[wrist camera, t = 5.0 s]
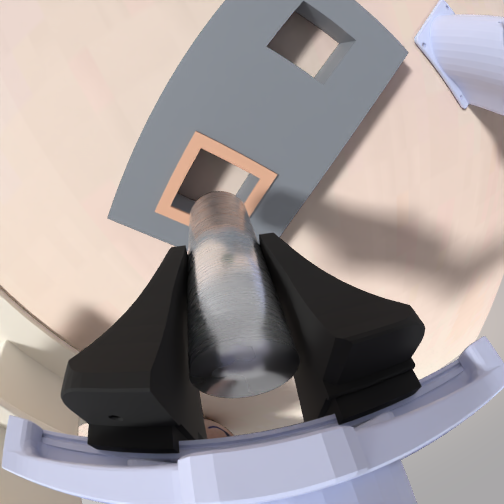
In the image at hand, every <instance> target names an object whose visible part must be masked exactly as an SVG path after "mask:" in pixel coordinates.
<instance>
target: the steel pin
mask: <svg viewBox="0 0 504 504" xmlns="http://www.w3.org/2000/svg"><path fill="white" fill-rule="evenodd" d="M187 328H188V365H189V379H190V382H191V383H192V385H193V386H194V387H195V388H197V389H198V390H200V391H201V392H203V393H206V394H208V395H212V396H216V397H223V398H243V397H250V396H255V395H259V394H262V393H265V392H268V391H271V390H273V389H275V388H277V387H279V386H281V385H282V384H284V383H285V382H287V381H288V380H289V379H290V378H292V376H293V375H294V374H295V373H296V371H297V370H298V368H299V364H300V359H299V355H298V352H297V349H296V347H295V344H294V341H293V338H292V335H291V332H290V329H289V327H288V324H287V321H286V318H285V315H284V313H283V310H282V307H281V304H280V301H279V298H278V296H277V293H276V290H275V287H274V285H273V282H272V279H271V276H270V273H269V271H268V268H267V265H266V262H265V259H264V257H263V254H262V251H261V248H260V246H259V243H258V240H257V237H256V235H255V232H254V229H253V226H252V224H251V221H250V218H249V215H248V213H247V210H246V207H245V205H244V204H243V202H242V201H241V200H240V199H239V198H238V197H237V196H235V195H234V194H231V193H228V192H224V191H215V192H211V193H208V194H205V195H203V196H202V197H200V198H199V199H198V200H197V201H196V202H195V204H194V205H193V207H192V209H191V212H190V220H189V242H188V279H187Z"/></svg>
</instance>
